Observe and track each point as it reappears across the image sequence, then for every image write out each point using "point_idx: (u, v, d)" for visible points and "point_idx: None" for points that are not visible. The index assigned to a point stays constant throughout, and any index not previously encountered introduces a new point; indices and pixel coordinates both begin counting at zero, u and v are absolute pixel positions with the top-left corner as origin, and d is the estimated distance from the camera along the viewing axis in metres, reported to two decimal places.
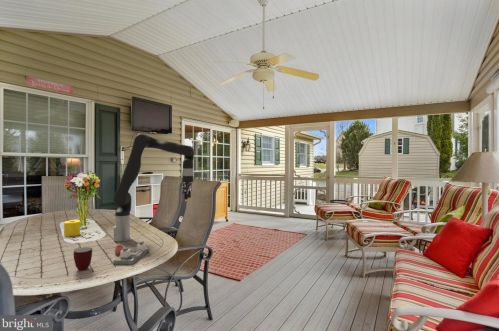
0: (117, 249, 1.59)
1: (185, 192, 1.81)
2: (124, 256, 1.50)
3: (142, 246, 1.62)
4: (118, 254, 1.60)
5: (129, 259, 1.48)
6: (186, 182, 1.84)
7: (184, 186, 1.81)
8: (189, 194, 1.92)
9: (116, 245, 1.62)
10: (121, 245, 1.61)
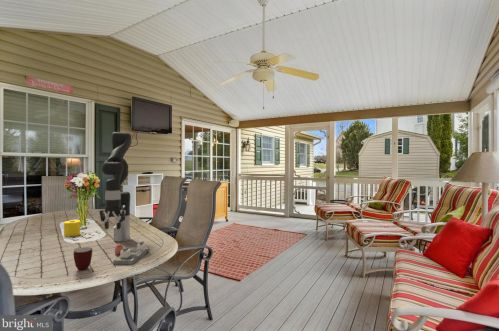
0: (117, 249, 1.59)
1: (124, 219, 1.51)
2: (124, 256, 1.50)
3: (142, 246, 1.62)
4: (118, 254, 1.60)
5: (129, 259, 1.48)
6: (119, 207, 1.51)
7: (124, 213, 1.51)
8: (108, 224, 1.52)
9: (116, 245, 1.62)
10: (121, 245, 1.61)
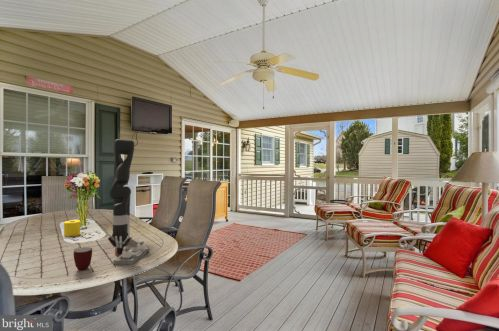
0: None
1: (126, 245, 1.51)
2: (126, 256, 1.50)
3: (142, 246, 1.62)
4: None
5: (129, 259, 1.48)
6: (127, 231, 1.51)
7: (129, 240, 1.51)
8: None
9: None
10: None
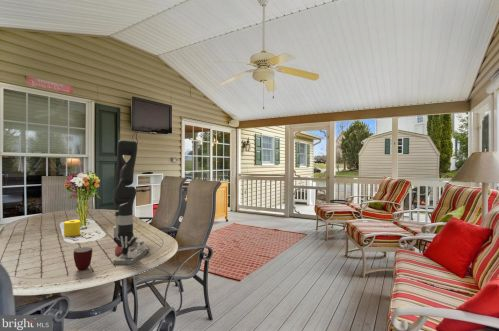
0: (117, 249, 1.59)
1: (131, 245, 1.51)
2: (131, 256, 1.50)
3: (142, 246, 1.62)
4: (118, 254, 1.60)
5: (129, 259, 1.48)
6: (132, 231, 1.51)
7: (135, 240, 1.51)
8: None
9: (116, 245, 1.62)
10: None
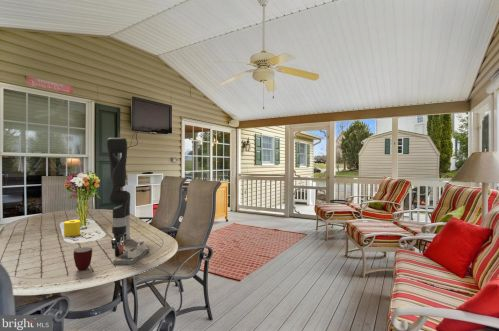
0: None
1: None
2: (131, 256, 1.50)
3: (142, 246, 1.62)
4: None
5: (129, 259, 1.48)
6: None
7: None
8: None
9: None
10: (121, 245, 1.61)
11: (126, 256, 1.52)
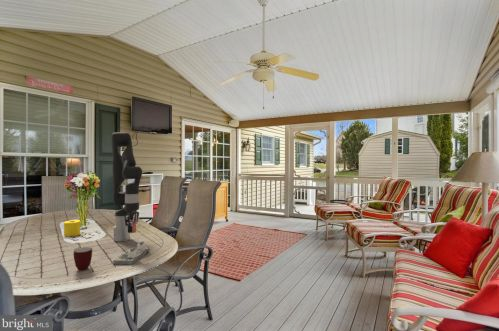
0: None
1: None
2: (131, 256, 1.50)
3: (142, 246, 1.62)
4: None
5: (129, 259, 1.48)
6: None
7: None
8: None
9: None
10: (134, 222, 1.57)
11: (126, 256, 1.52)
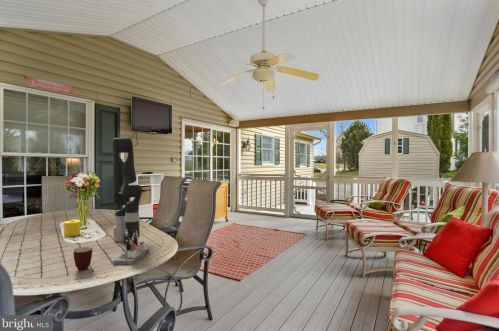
0: None
1: None
2: (131, 256, 1.50)
3: (142, 246, 1.62)
4: None
5: (129, 259, 1.48)
6: None
7: None
8: None
9: None
10: (134, 244, 1.57)
11: (126, 256, 1.52)
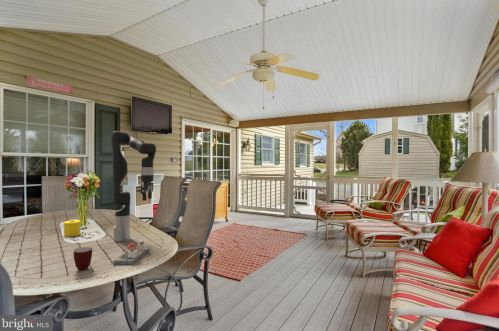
0: (130, 248, 1.55)
1: None
2: (131, 256, 1.50)
3: (142, 246, 1.62)
4: None
5: (129, 259, 1.48)
6: None
7: None
8: None
9: (129, 244, 1.58)
10: (134, 244, 1.57)
11: (126, 256, 1.52)
